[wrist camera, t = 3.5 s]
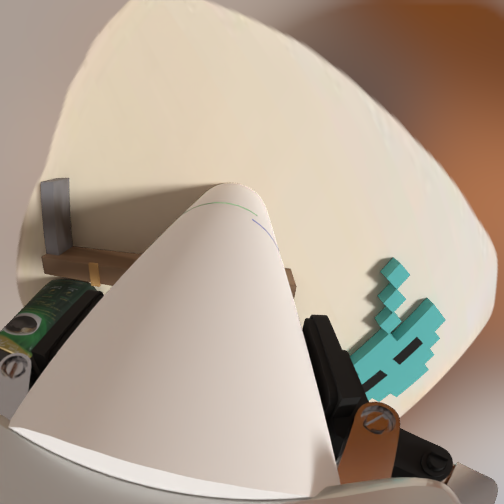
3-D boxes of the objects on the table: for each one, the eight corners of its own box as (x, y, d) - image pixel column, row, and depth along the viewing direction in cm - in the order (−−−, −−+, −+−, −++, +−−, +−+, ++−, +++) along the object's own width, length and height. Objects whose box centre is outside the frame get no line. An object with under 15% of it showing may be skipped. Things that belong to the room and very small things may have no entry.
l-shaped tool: (287, 287, 29) (292, 308, 25) (62, 261, 28) (43, 276, 24) (302, 191, 26) (312, 198, 22) (56, 178, 25) (33, 184, 21)
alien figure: (275, 366, 34) (361, 410, 38) (276, 378, 32) (364, 420, 36) (391, 255, 29) (452, 331, 33) (400, 263, 27) (459, 339, 31)
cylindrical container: (230, 267, 28) (195, 545, 5) (179, 218, 27) (-2, 450, 3) (283, 221, 27) (399, 504, 3) (231, 166, 25) (36, 352, 1)
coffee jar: (61, 325, 31) (-8, 414, 14) (45, 274, 29) (-46, 355, 11) (116, 333, 31) (52, 446, 14) (101, 277, 29) (6, 385, 11)
